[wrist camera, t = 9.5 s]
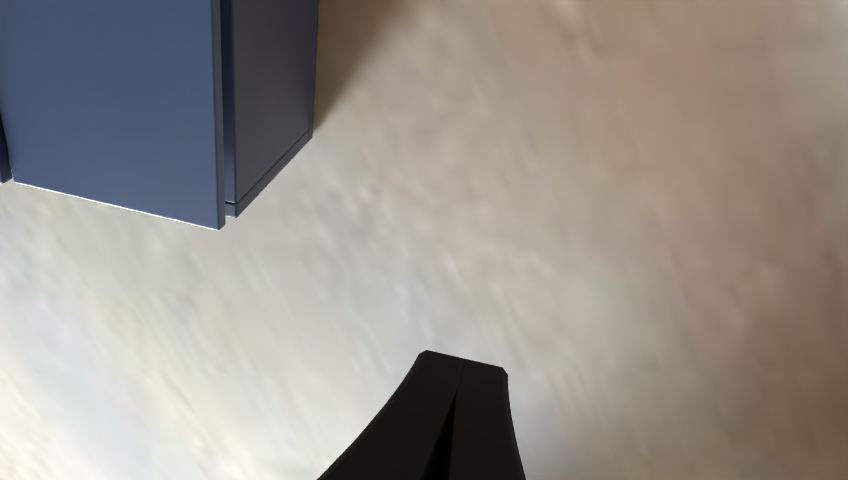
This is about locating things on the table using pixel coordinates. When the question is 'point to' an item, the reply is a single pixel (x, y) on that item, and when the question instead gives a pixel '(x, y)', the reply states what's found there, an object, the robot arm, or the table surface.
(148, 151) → the flap
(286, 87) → the carton
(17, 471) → the table surface
